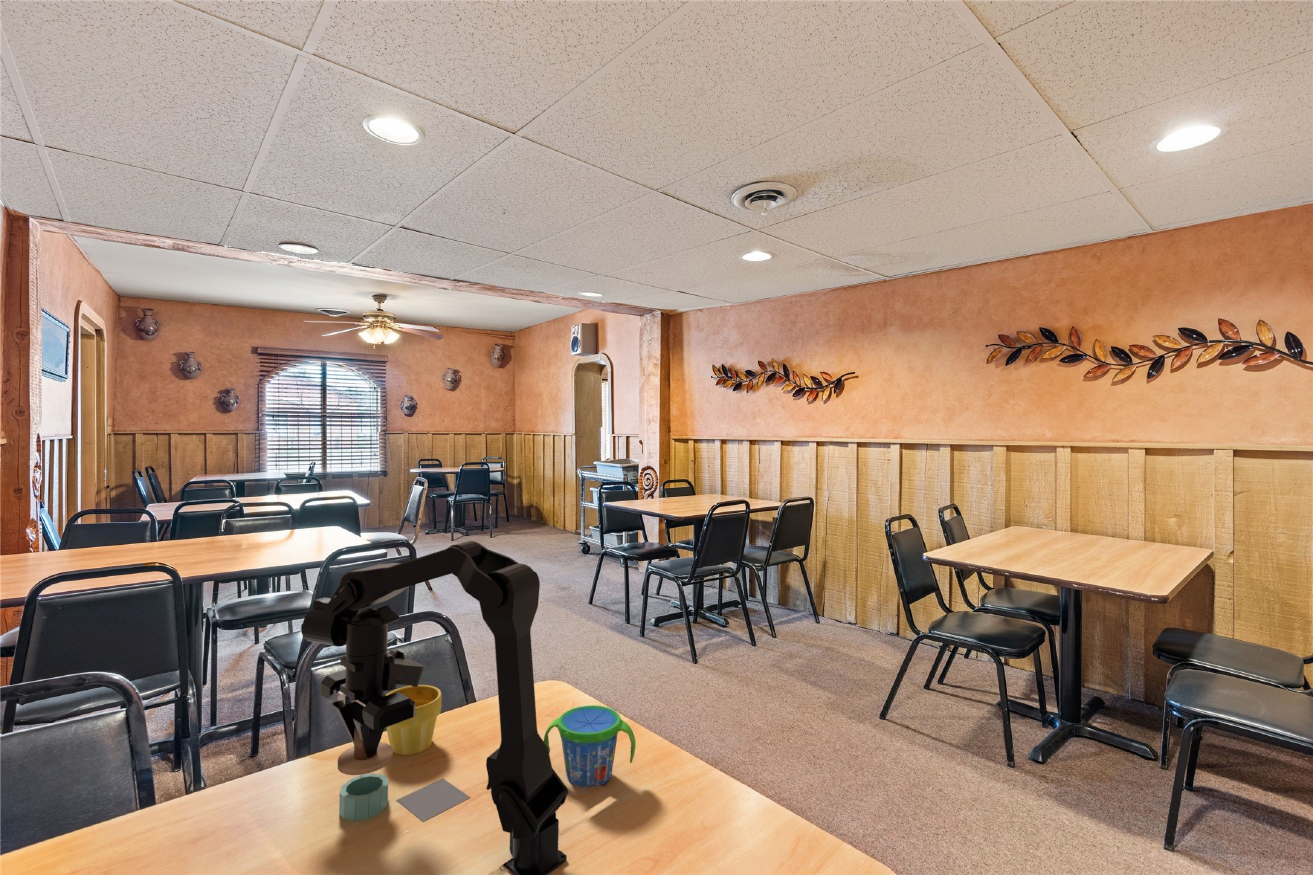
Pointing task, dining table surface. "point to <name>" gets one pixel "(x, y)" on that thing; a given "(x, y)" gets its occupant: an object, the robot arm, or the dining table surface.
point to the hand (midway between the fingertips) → (365, 752)
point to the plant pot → (416, 720)
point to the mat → (433, 799)
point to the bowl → (363, 797)
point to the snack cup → (590, 743)
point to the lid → (364, 758)
